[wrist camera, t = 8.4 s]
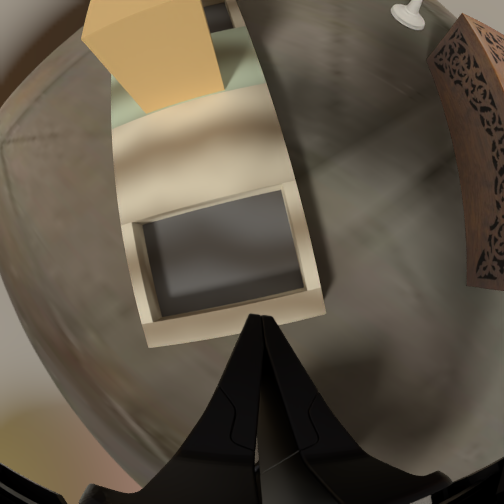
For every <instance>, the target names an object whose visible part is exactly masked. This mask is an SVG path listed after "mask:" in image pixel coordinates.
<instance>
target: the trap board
mask: <svg viewBox="0 0 504 504" xmlns="http://www.w3.org/2000/svg"><path fill="white" fill-rule="evenodd" d="M201 1H202V5H203V8H204V12H205V15H206V19H207V23H208V26H209V30H210V34H211V37H212V41H213V45H214V49H215V53H216V57H217V61H218V65H219V69H220V73H221V77H222V81H223V85H224V89H225V90H223V91H219V92H215V93H212V94H208V95H204V96H200V97H197V98H193V99H190V100H186V101H183V102H180V103H177V104H174V105H171V106H167V107H164V108H162V109H159V110H156V111H153V112H150V113H147V114H146V113H145V112H144V111H143V110H142V108H141V107H140V106H139V105H138V104H137V103H136V102H135V100H134V99H133V98H132V97H131V96H130V95H129V93H128V92H127V91H126V90H125V89H124V88H123V86H122V85H121V84H120V83H119V82H118V81H117V80H116V78H115V77H114V76H113V75H112V74H111V123H112V145H113V160H114V171H115V182H116V191H117V199H118V207H119V214H120V221H121V228H122V234H123V240H124V246H125V251H126V257H127V262H128V267H129V272H130V276H131V281H132V286H133V290H134V294H135V299H136V303H137V307H138V311H139V315H140V318H141V322H142V326H143V330H144V333H145V337H146V340H147V344H148V347H149V348H152V347H160V346H167V345H174V344H181V343H187V342H193V341H200V340H206V339H211V338H217V337H223V336H228V335H233V334H239V333H241V331H242V329H243V326H244V324H245V322H246V319H247V317H248V315H249V314H250V313H252V314H259V315H260V316H261V315H268V316H272V317H273V318H274V319H275V321H276V323H277V324H278V325H282V324H286V323H290V322H295V321H299V320H303V319H307V318H311V317H315V316H319V315H323V314H326V310H325V305H324V300H323V295H322V290H321V285H320V281H319V276H318V271H317V267H316V262H315V257H314V253H313V249H312V244H311V240H310V236H309V231H308V227H307V223H306V219H305V215H304V211H303V207H302V203H301V199H300V195H299V191H298V188H297V184H296V180H295V176H294V173H293V169H292V166H291V162H290V158H289V155H288V151H287V148H286V144H285V141H284V138H283V134H282V131H281V128H280V124H279V121H278V118H277V115H276V111H275V108H274V105H273V102H272V99H271V96H270V93H269V90H268V87H267V84H266V81H265V78H264V75H263V72H262V69H261V66H260V63H259V60H258V58H257V55H256V52H255V49H254V46H253V44H252V41H251V38H250V36H249V33H248V30H247V28H246V25H245V22H244V20H243V17H242V15H241V12H240V10H239V7H238V5H237V2H236V0H201Z"/></svg>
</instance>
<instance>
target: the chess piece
mask: <svg viewBox="0 0 504 504" xmlns="http://www.w3.org/2000/svg"><path fill="white" fill-rule="evenodd" d="M422 1H423V0H411V2H410V3H409V4H408V5H402V4H395V5H394V6H393V7H392V8H391V13H392V15H393V16H394V18H395V19H396V20H398V21H399V22H400V23H402V24H403V25H405V26H407V27H409V28H411V29H414V30H422V29H423V28H424V25H425V21H424V19H423V18H422V16H421V15H420V14H419V13H418V12H419V9H420V6H421V3H422Z"/></svg>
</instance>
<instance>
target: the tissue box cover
mask: <svg viewBox="0 0 504 504" xmlns="http://www.w3.org/2000/svg"><path fill="white" fill-rule="evenodd" d="M426 61H427V63H428V66H429V68H430V71H431V74H432V76H433V79H434V82H435V84H436V87H437V90H438V93H439V96H440V99H441V102H442V106H443V109H444V112H445V116H446V119H447V123H448V127H449V130H450V134H451V138H452V143H453V147H454V152H455V157H456V162H457V167H458V172H459V178H460V185H461V192H462V199H463V208H464V218H465V231H466V251H467V286H472V287H479V288H486V289H493V290H500V291H504V35H503V34H501V33H499V32H498V31H496V30H494V29H492V28H491V27H489V26H487V25H485V24H483V23H481V22H480V21H478V20H476V19H474V18H471V17H470V16H467V15H465V14H463V13H462V14H461V15H460V16H459V18H458V19H457V20H456V22H455V23H454V24H453V26H452V27H451V28H450V30H449V31H448V32H447V34H446V35H445V36H444V38H443V39H442V40H441V41H440V43H439V44H438V45H437V47H436V48H435V49H434V51H433V52H432V53H431V54H430V56H429V57H428V58H427V60H426Z"/></svg>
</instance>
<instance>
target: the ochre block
mask: <svg viewBox="0 0 504 504" xmlns="http://www.w3.org/2000/svg"><path fill="white" fill-rule="evenodd" d="M81 40H82V41H83V42H84V43H85V44H86V45H87V46H88V48H89V49H90V50H91V51H92V52H93V53H94V54H95V55H96V57H97V58H98V59H99V60H100V61H101V62H102V63H103V65H104V66H105V67H106V68H107V69H108V70H109V72H110V73H111V74H112V75H113V76H114V77H115V78H116V80H117V81H118V82H119V83H120V84H121V85H122V86H123V88H124V89H125V90H126V91H127V92H128V93H129V95H130V96H131V97H132V98H133V99H134V100H135V102H136V103H137V104H138V105H139V106H140V107H141V108H142V110H143V111H144V112H145V113H146V114H147V113H150V112H153V111H156V110H159V109H162V108H164V107H167V106H171V105H174V104H177V103H180V102H183V101H186V100H190V99H193V98H197V97H200V96H204V95H208V94H212V93H215V92H219V91H223V90H225V89H224V85H223V81H222V77H221V73H220V69H219V65H218V61H217V57H216V53H215V49H214V45H213V41H212V37H211V34H210V30H209V26H208V23H207V19H206V15H205V12H204V8H203V5H202V1H201V0H91V1H90V5H89V8H88V12H87V16H86V20H85V24H84V29H83V33H82V38H81Z"/></svg>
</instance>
